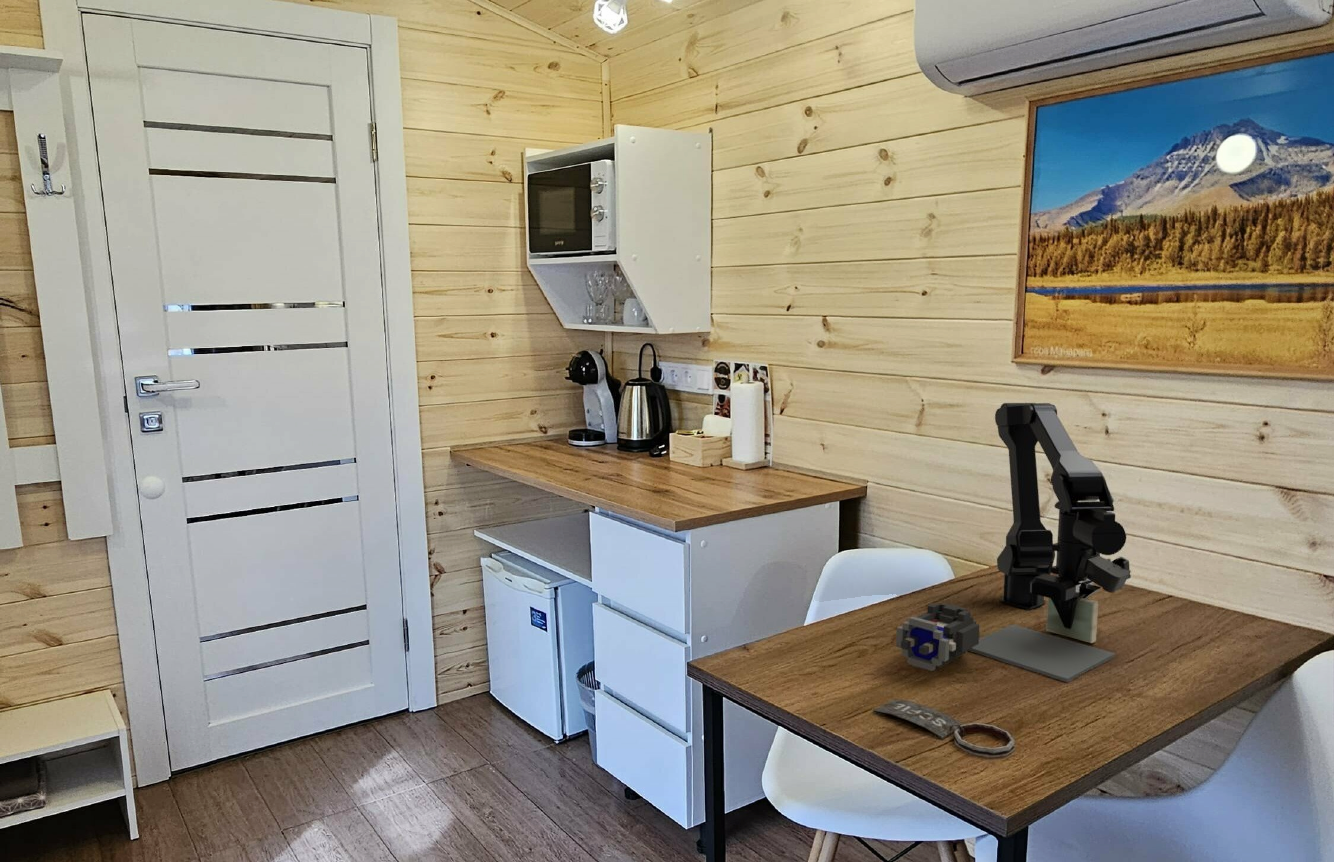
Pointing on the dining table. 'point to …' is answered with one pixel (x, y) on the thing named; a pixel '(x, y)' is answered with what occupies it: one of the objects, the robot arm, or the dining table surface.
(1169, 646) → the dining table surface
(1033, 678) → the dining table surface
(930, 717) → the keychain
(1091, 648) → the mat
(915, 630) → the toy
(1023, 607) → the robot arm
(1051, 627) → the tile
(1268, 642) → the dining table surface
